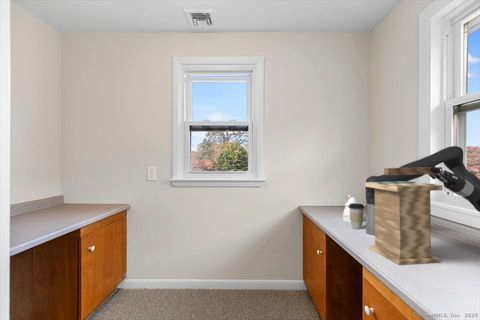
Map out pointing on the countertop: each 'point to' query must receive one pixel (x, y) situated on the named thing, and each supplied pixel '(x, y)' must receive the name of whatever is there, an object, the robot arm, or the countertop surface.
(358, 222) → the coffee cup
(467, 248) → the countertop surface
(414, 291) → the countertop surface
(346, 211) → the honey pot
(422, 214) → the oak lectern
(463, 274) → the countertop surface
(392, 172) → the walnut bar
